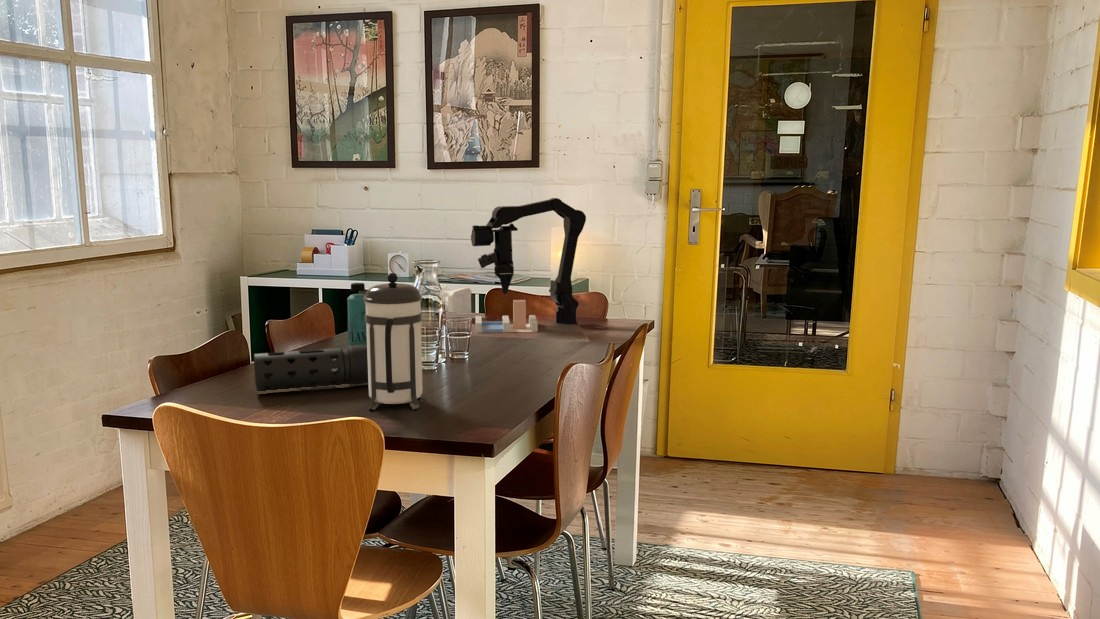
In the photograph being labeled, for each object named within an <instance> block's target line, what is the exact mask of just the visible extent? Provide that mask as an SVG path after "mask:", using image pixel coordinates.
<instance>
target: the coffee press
mask: <svg viewBox="0 0 1100 619" xmlns="http://www.w3.org/2000/svg"><path fill="white" fill-rule="evenodd" d="M386 279H387V280H388V283H382V284H376V285H372V286H371V287H370V288H368V289H367V290H366V292H365V295H366V296H364V302H365V304H366V313H365V322H366V328H367V357H368V383H367V384H368V397H369V398H370V401H369V403H368V404H369V405H373V406H374V405H375V403H378V404H380V405H382V403H383V404H387V405H399V404H407V405H408V404H410V403H414V405H420V402H419V400H418V398H419V397H420V396H421V395H423V396H424V394H423V358H422V355H423V354H422V352H423V351H422V320H423V312H422V311H421V303H422V300H423V295H422V294H421V293H420V290H419V289H418V288H417V287H416V286H414V285H412V284H409V283H397V281H398V275H397V274H396V273H394V272H391V273H389V274H388V275H387V278H386Z"/></svg>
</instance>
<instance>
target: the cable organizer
mask: <svg viewBox="0 0 1100 619" xmlns="http://www.w3.org/2000/svg"><path fill="white" fill-rule="evenodd" d="M440 287H441V288H442V291H443V296H444V302H445V311H446V312H457V313H471V314H472V290H471V288H470V287H466V286H465V287H461V288H457V289H454V290H449V287H448V286H447V285H446V286H445V285H443V286H440Z"/></svg>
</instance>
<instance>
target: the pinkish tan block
mask: <svg viewBox="0 0 1100 619" xmlns="http://www.w3.org/2000/svg"><path fill="white" fill-rule="evenodd" d="M512 300H513V302H512V310H513V311H512V316H513V318H512V320H513V321H512V322H513V323H512V324H513V327H514V329H526V324H527V301H526V299H512Z"/></svg>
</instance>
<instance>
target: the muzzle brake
mask: <svg viewBox="0 0 1100 619" xmlns="http://www.w3.org/2000/svg"><path fill="white" fill-rule="evenodd" d="M253 368H254V370H253V371H254V382H255V391H266V390H277V389H289V388H301V387H317V386H329V385H341V384H351V385H352V384H354V385H364V384H365V383H366V384H368V357H367V346H366V345H355V346H349V345H348V346H347V347H346V348H345V349H342V348H341V347H333V348H330V347H329V348H322V349H320V348H319V349H312V350H311V349H309V350H308V349H307V350H306V349H305V350H289V351H281V352H280V351H278V352H261V353H254V354H253Z"/></svg>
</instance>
